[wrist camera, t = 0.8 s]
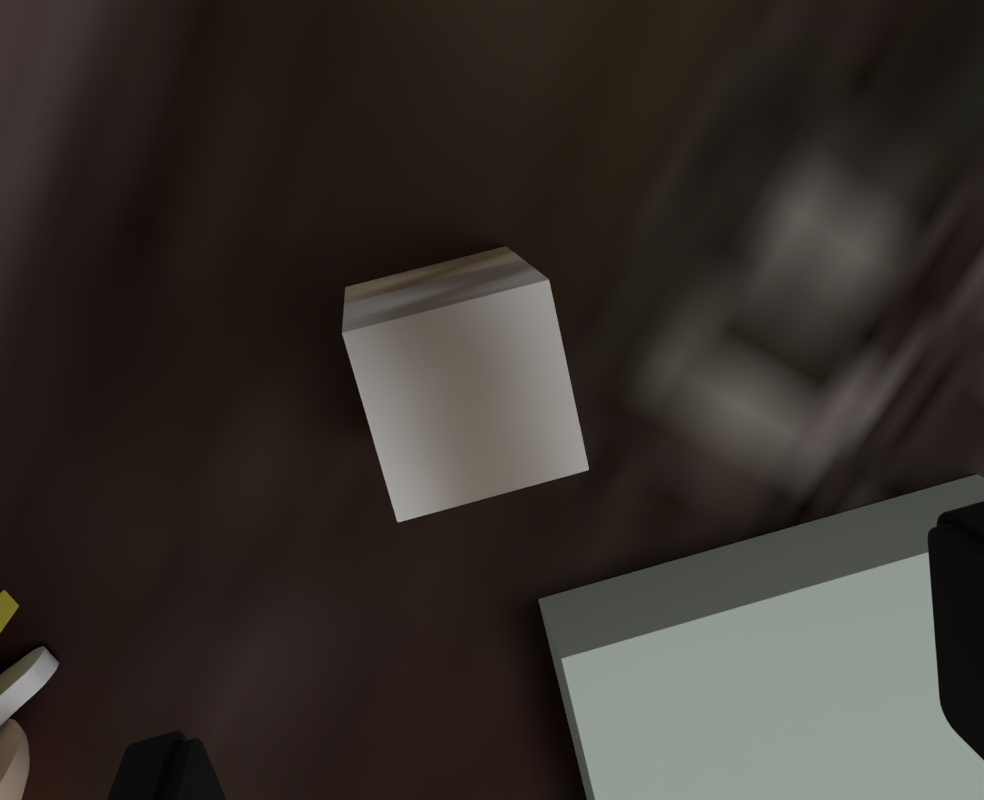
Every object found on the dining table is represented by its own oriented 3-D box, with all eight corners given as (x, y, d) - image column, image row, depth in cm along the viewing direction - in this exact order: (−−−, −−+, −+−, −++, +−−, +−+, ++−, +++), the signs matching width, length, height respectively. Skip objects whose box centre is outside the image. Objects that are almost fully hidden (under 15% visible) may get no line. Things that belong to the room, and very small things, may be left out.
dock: (977, 474, 35) (1053, 516, 31) (994, 774, 39) (1062, 842, 36) (538, 599, 33) (561, 658, 30) (609, 893, 38) (637, 978, 34)
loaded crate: (506, 245, 30) (549, 279, 23) (539, 398, 31) (589, 469, 25) (345, 286, 29) (342, 332, 23) (388, 438, 31) (397, 522, 24)
